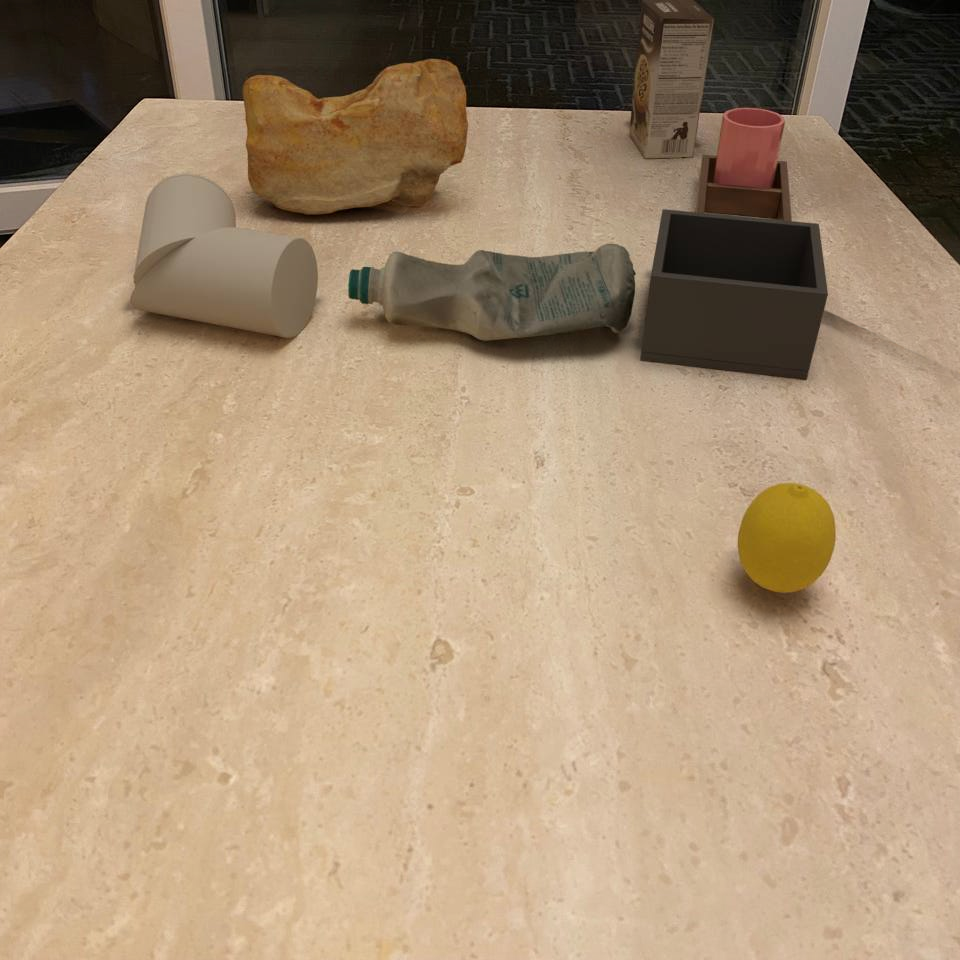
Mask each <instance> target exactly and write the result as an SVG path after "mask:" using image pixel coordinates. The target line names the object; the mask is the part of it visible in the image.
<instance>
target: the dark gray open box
mask: <svg viewBox="0 0 960 960" xmlns="http://www.w3.org/2000/svg"><path fill="white" fill-rule="evenodd" d="M661 210H662V211H661V217H660V221H659V228H658V234H657V239H656V245H655V250H654V254H653V255H654V256H653V262H652V267H651V272H650V278H649V279H650V280H649V285H648V286H649V287H648V288H649V289H648V295H647V302H646V303H647V305H646V311H645V319H644V328H643V335H642V342H641V352H640V361H645V362H654V363H661V364H662V363H664V364H671V365H681V366H688V367H697V368H706V369H712V370H713V369H715V370H722V371H729V372H730V371H731V372H738V373H739V372H740V373H749V374H757V375H764V376H765V375H766V376H772V377H782V378H788V379H789V378H791V379H798V380H807V379H808V376H809V373H810V372H809V371H810V369H811V365H812V360H813V358H814V357H813V356H814V352H815V350H816V344H817V340H818V336H819V333H820V332H819V331H820V328H821V324H822V320H823V316H824V312H825V308H826V304H827V299H828V295H829V292H828V284H827V283H828V282H827V275H826V269H825V259H824V254H823V253H824V252H823V246H822V245H823V244H822V237H821V231H820V230H821V229H820V223H816V222H807V221H806V222H804V221H796V220H795V221H793V220H792V221H784V220H777V219H775V218H764V217H753V216H742V215H732V214H721V213H710V212H704V213H698V212H695V211H687V210H676V209H667V208H666V209H665V208H664V209H661Z"/></svg>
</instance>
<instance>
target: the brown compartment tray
mask: <svg viewBox="0 0 960 960" xmlns="http://www.w3.org/2000/svg"><path fill="white" fill-rule="evenodd" d="M716 156H717V155H713V154H702V157H701V164H700V171H699V177H698V185H697V194H696V203H695V211H694V212H698V213H712V214H723V215H733V216H744V217H755V218H766V219H775V220H784V221H793V220H792V210H791V209H792V208H791V207H792V206H791V196H790V195H791V194H790V181H789V169H788V168H789V167H788V161H787V160H777V165H776V171H775V176H774V181H773V186H772V188H761V187H750V186H739V185H727V184H716V183H712V181H713V175H714V169H715V162H716Z"/></svg>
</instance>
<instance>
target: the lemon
mask: <svg viewBox="0 0 960 960" xmlns="http://www.w3.org/2000/svg"><path fill="white" fill-rule="evenodd" d="M835 519H836V518H835V515H834V513H833V510H832V508H831V506H830V504H829V502H828V501H827V499H826V498H824V496H823V495H822V494H820V493H819V492H818V491H817V490H816V489H814V488H812V487H810V486H808V485H804V484H802V483H798V482H783V483H777V484H774V485H771V486H769V487H767V488H766V489H764V490H763V491H761V492H760V493H758V494H757V495H756V496H755V498H754V499H753V500H752V502H751V503H750V504H749V505H748V507H747V508H746V511H745V512H744V514H743V517H742V519H741V522H740V526H739V529H738V532H737V533H738V534H737V553H738V558H739V561H740V564H741V565H742V568H743V570H744V572H745V574H746V575H748V577H749V578H750V579H751V580H752V581H753V582H754V583H756V584H757V585H758V586H760V587H762V588H763V589H766V590H767V591H772V592H775V593H786V594H787V593H793V592H798V591H801V590H804V589H806V588H807V587H809V586H812V584H814V583H815V582H816V581H817V580H818V579H820V577H821V576H822V575H823V574H824V572H825V571H826V570H827V568H828V566H829V565H830V561H831V559H832V557H833V554H834V550H835V546H836V534H837V533H836V531H837V530H836V520H835Z"/></svg>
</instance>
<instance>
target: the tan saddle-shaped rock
mask: <svg viewBox="0 0 960 960" xmlns="http://www.w3.org/2000/svg"><path fill="white" fill-rule="evenodd" d="M466 91H467V90H466V87H465V84H464V81H463V79H462V76H461V74H460V72H459V68H458V66H456V65H455V64H453V63H452V62H451V61H448V60H443V59H439V58H427V59H424V60H418V61H415V62H403V63H399V64H395V65H390V66H386V68H384V69H382V70H381V71H380V72H379V74H377V76H376V77H375V78H374V80H373V81H372V83H371V84H369V85H368V86H366V87H365V88H363V89H360V90H357V91H355V92H353V93H351V94H347V95H342V96H331V97H330V96H329V97H322V98H318V97H316V96H314V95H313V94H312V93H311V92H310V91H308V90H306V89H303V88H302V87H299V86H297V85H296V84H294V83H292V82H291V81H290V80H288V79H287V78H285V77H282V76H279V75H270V74H265V75H264V74H257V75H253V76H250V77H249V78H248V79H246V80H245V82H244V83H243V85H242V98H243V99H242V100H243V105H244V112H245V125H246V132H247V135H246V140H245V148H246V153H247V179H248V180H247V181H248V184H249V186H250V188H251V190H252V192H253V193H254V194H255V195H256V196H258V197H259V198H261V199H264V200H265V201H267V202H270V203H272V204H273V205H274V206H275V207H276V208H277V209H281V210H283V211H288V212H293V213H299V214H304V215H324V214H332V213H335V212H337V211H343V210H348V209H353V208H354V209H355V208H367V207H369V208H370V207H374V206H378V205H380V204H384V203H387V202H389V201H392V202H395V203H396V204H399V205H402V206H405V205H406V207H412V206H420V207H423V206H425V205H427V204H428V203H429V202H430V201H432V199H433V196H434V193H435V191H436V187H437V185H438V183H439V181H440V177H441V175H442V174H444V173H445V171H447V170H448V169H449V168H452V167H453V166H455V165H459V164H462V162H463V159H464V157H465V153H466V148H467V139H468V131H469V120H468V115H467V92H466Z"/></svg>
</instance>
